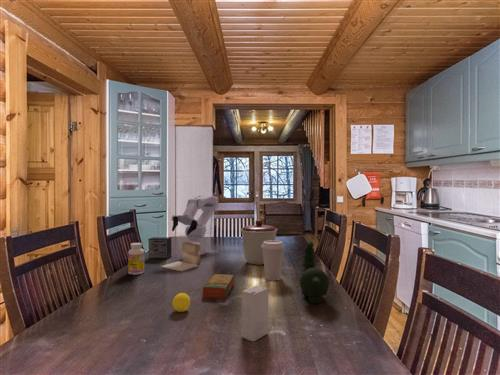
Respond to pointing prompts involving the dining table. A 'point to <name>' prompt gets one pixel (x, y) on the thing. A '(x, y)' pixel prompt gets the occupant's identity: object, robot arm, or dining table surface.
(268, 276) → the coffee cup
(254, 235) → the canister
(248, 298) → the skincare box
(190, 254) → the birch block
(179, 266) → the beige mat
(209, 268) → the dining table surface
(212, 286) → the carton
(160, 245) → the small box
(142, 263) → the supplement bottle
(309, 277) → the green topiary plant
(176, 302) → the lemon
